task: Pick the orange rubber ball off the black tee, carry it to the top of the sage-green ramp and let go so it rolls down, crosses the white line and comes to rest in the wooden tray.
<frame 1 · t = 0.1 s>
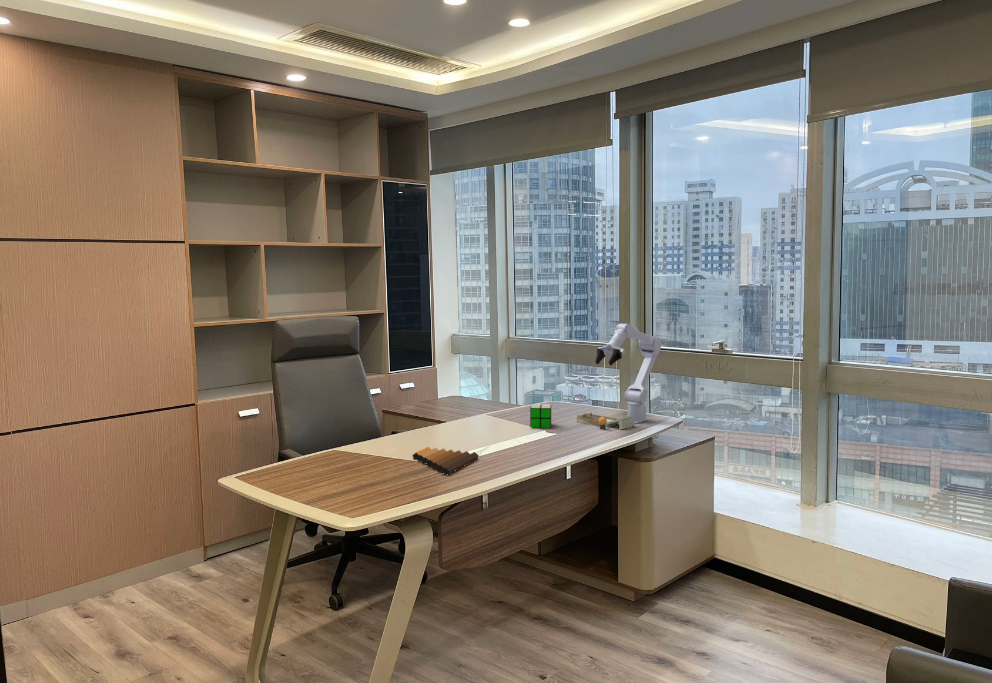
hand: (603, 363, 332), 32 cm above the table, tool tilted 50°, fingers open, 7 cm apart
puzzle cube: (540, 426, 345), on the table
tee: (602, 428, 338), on the table
ramp: (618, 426, 343), on the table
brown ridged panel: (436, 465, 278), on the table
wooden tray: (596, 419, 352), on the table
ball: (602, 421, 338), point 4 cm above the table, touching tee
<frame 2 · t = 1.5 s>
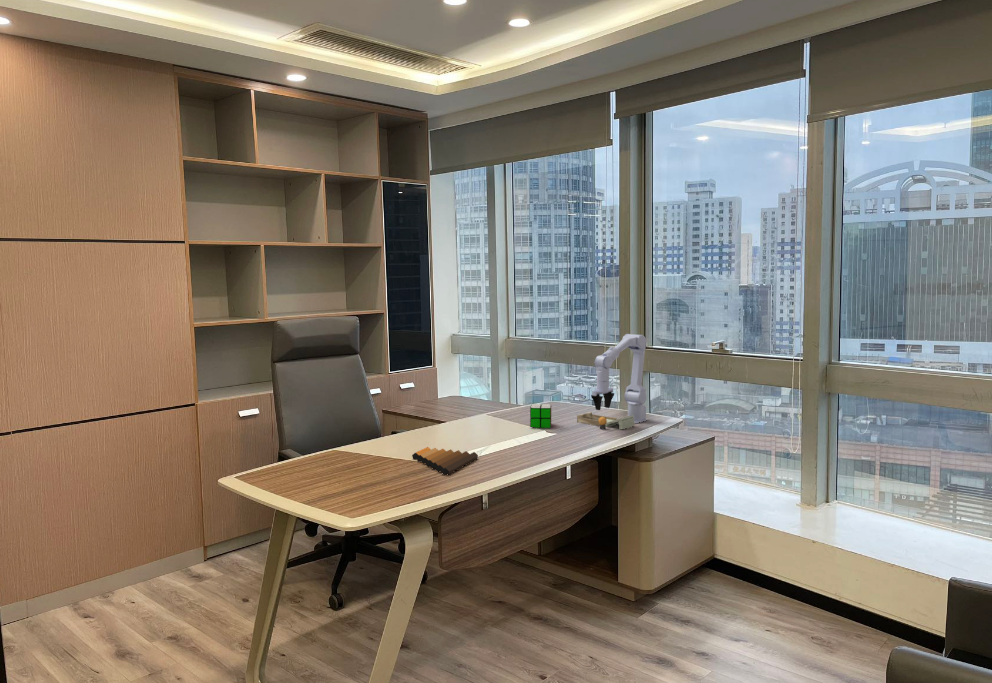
hand: (602, 408, 337), 10 cm above the table, tool pointing down, fingers open, 7 cm apart
nothing on the table moved.
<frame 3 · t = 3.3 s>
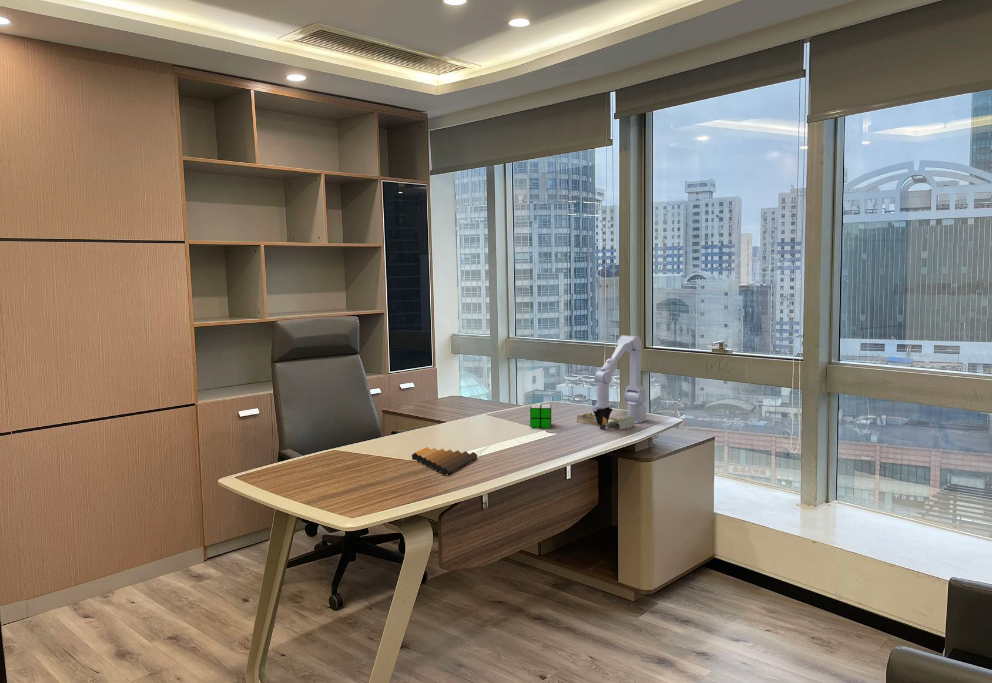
hand: (602, 423, 338), 2 cm above the table, tool pointing down, fingers closed on ball, 4 cm apart
ball: (602, 421, 338), point 4 cm above the table, touching gripper, tee
everything else where it was.
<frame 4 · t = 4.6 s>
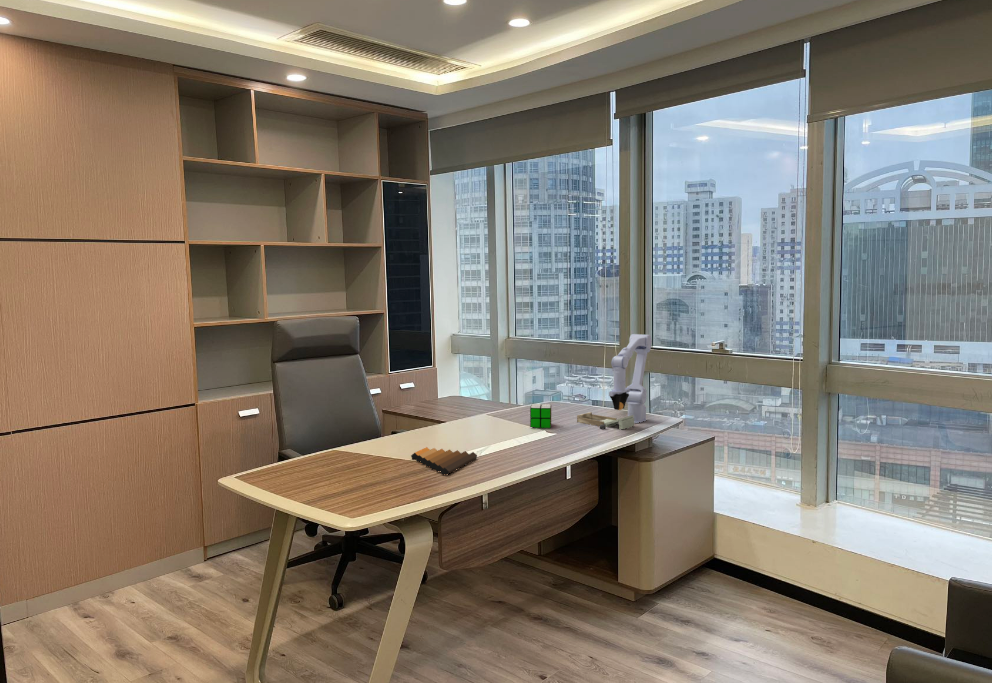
hand: (619, 408, 339), 9 cm above the table, tool pointing down, fingers closed on ball, 4 cm apart
ball: (619, 406, 339), point 11 cm above the table, touching gripper
everything else where it was.
when the fingers open (6 cm above the table, at t = 5.9 s): ball drops 6 cm, resting on wooden tray.
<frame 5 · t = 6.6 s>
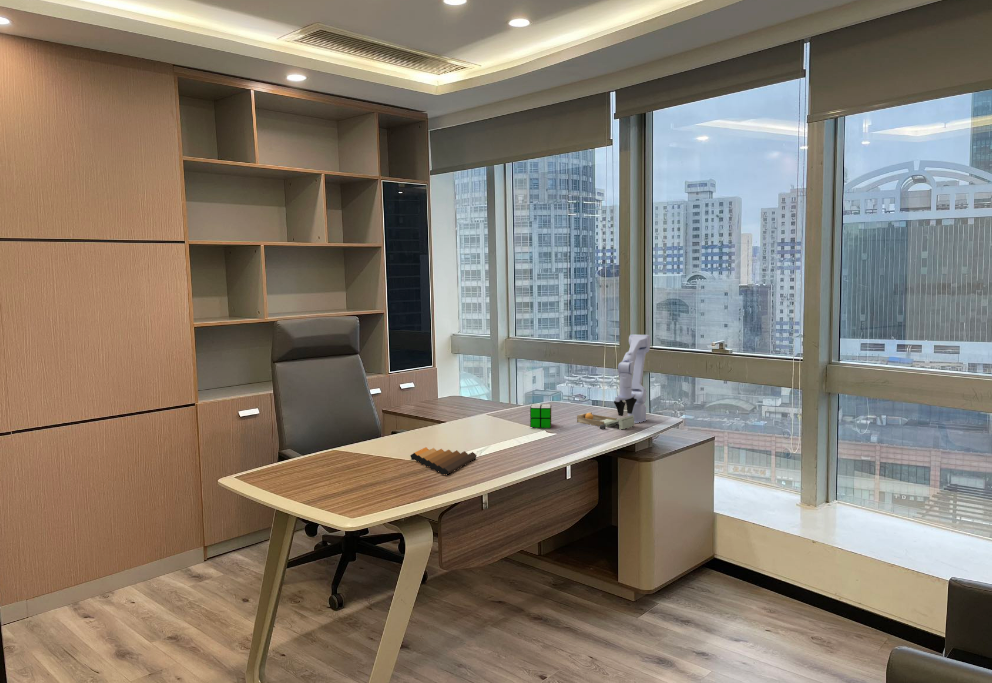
hand: (625, 414, 340), 6 cm above the table, tool pointing down, fingers open, 7 cm apart
ball: (589, 417, 355), point 2 cm above the table, tilted 27°, touching wooden tray
everything else where it was.
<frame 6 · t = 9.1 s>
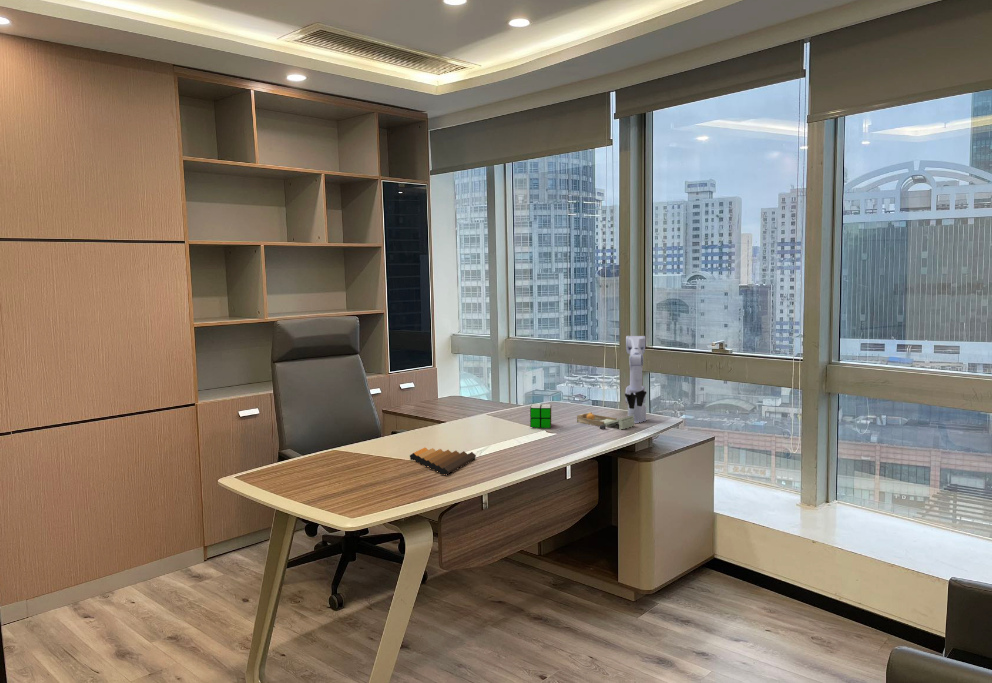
hand: (635, 407, 339), 10 cm above the table, tool pointing down, fingers open, 7 cm apart
ball: (590, 417, 354), point 2 cm above the table, tilted 51°, touching wooden tray
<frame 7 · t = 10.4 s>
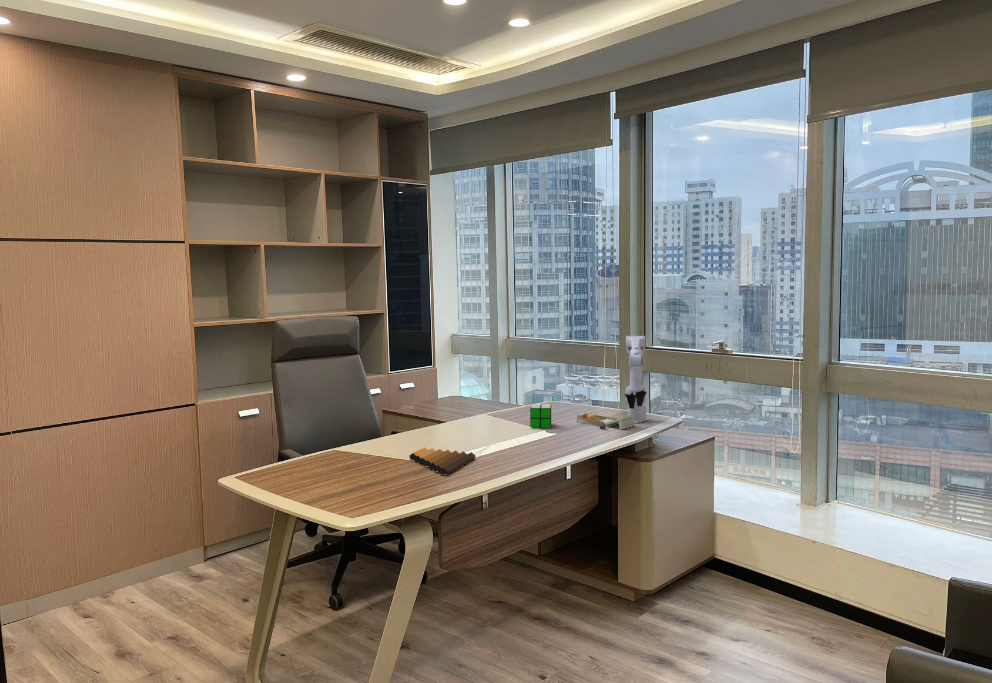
hand: (635, 407, 339), 10 cm above the table, tool pointing down, fingers open, 7 cm apart
ball: (591, 417, 354), point 2 cm above the table, tilted 64°, touching wooden tray
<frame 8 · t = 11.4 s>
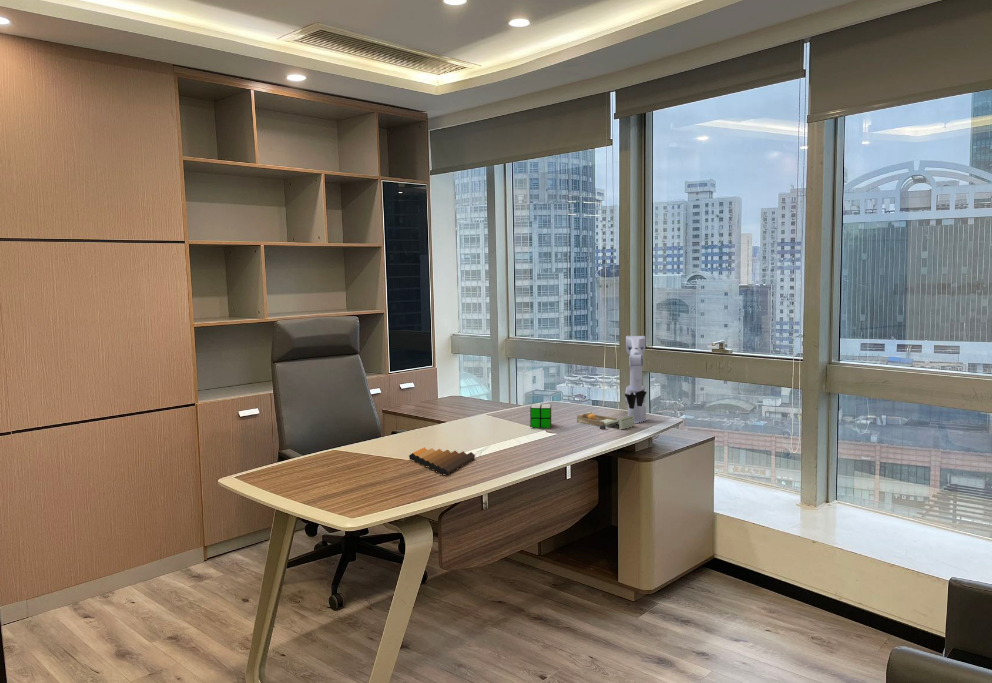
hand: (635, 407, 339), 10 cm above the table, tool pointing down, fingers open, 7 cm apart
ball: (591, 417, 354), point 2 cm above the table, tilted 73°, touching wooden tray
at the end: ball inside the target area (0.5 cm from its centre), point 2.2 cm above the table; the gripper is holding nothing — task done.
